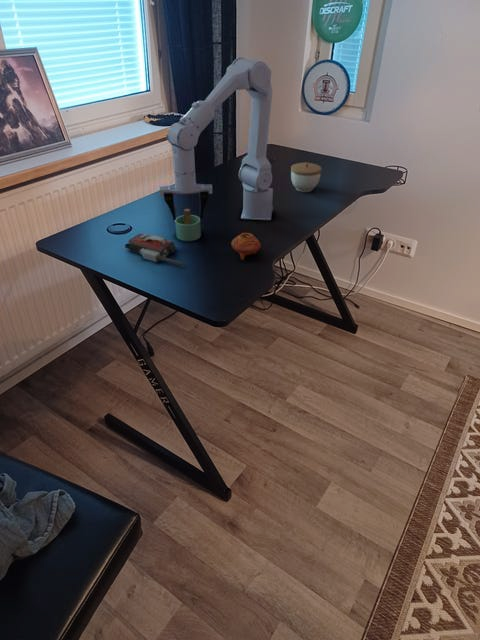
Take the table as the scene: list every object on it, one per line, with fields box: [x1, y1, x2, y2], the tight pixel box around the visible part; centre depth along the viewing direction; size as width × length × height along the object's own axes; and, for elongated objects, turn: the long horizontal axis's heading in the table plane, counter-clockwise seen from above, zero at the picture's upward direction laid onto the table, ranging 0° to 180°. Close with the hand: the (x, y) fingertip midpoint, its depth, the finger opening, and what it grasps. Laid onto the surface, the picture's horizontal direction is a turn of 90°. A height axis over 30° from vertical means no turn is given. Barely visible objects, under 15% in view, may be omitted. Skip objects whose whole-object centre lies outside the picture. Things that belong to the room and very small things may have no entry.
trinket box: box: [290, 161, 323, 193], centre depth 162 cm, size 11×11×9 cm
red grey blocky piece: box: [124, 233, 184, 266], centre depth 124 cm, size 9×4×20 cm
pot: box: [230, 232, 262, 261], centre depth 123 cm, size 8×8×7 cm
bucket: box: [174, 214, 202, 242], centre depth 133 cm, size 7×7×5 cm
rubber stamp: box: [183, 208, 193, 225], centre depth 132 cm, size 5×5×8 cm
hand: (188, 217), depth 131 cm, fingers open, 7 cm apart
